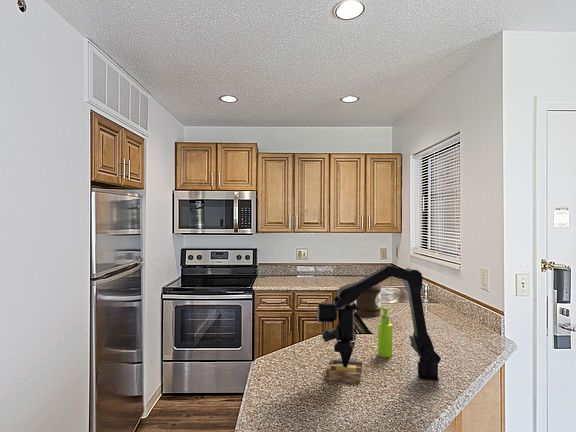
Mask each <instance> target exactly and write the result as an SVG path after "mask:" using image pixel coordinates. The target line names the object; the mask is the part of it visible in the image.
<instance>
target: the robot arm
mask: <svg viewBox="0 0 576 432" xmlns="http://www.w3.org/2000/svg"><path fill="white" fill-rule="evenodd" d="M393 277H394V278H397V279H400V280H402V283H403V285H404V288H405V290H406V291H407V296H408V303H409V307H410V312H411V313H410V314H411V318H412V319H411V321H412V326H413V334H412V335H409V339H410V347H411V348H412V349H413V350H414V352H415V353H416V354H417V356H418V357H419V361H417V375H418V376H419V379H421V380H430V381H431V380H432V381H440V380H439V364H440V362H441V358H442V357H441V356H439V354H438V353H436V351H435V348H434V345H433V342H432V339H431V337H430V334H429V332H428V331H427V325H426V318H425V312H424V306H423V301H422V299H423V298H422V290H423V289H422V288H423V274H422V273H421V271H420V270H417V269H415V268H411V267H406V268H401V267H397V266H394V265H391V264H385V265H383V267H381V268H379V269H377V270H375V271H374V272H373V273H371V274H368V275H367V276H365V277H363V278H362V279H360V280H358V281H356V282H352V283H349V284H345V285H343V286H341V287H340V288H338V289H337V292H336V296H335V297H334V298H333V299H332V301H331V302H330V303H327V302H325V303H324V302H318V303H317V305H318V306H317V311H316V316H317V317H316V318H317V323H335V321H336V320H337V325H336V327H332V328H329V329H326V330H324V331H322V333H321V335H322V339H323V340H324V343H328V342H330V341H333V340H335V341H336V342H335V344H334V346H333V347H334V349H333V350H334V351H333V352H335V353H340V356H341V357H340V358H342V362H343V366H344V367H347V365H348V362H349V360H350V359H351V357H352V355H353V352H354V348H355V344H356V342H355V341H357V334H356V332H355V329H354V328H355V320H354V318H355V317H354V316H355V312H354V311H356V310H359V308H358V307H357V306H356V303H355V301H356V299H358V298H359V297H360V295H361V294H362V293H363V292H365V291H366V290H368V289H370V288H372V287H373V286H375V285H377V284H379V285H380V283H382V282H384V281H385V280H386V281H387V280H388V279H389V278H393Z"/></svg>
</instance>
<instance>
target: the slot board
mask: <svg viewBox="0 0 576 432" xmlns="http://www.w3.org/2000/svg"><path fill="white" fill-rule="evenodd" d="M337 364H338V358H331V359H330V360H329V362H328V365H327V367H326V371H325V380H327V381H328V380H329V381H337V382H346V383H347V382H350V383H358V384H359V383H361V380H362V373H363V361H362V360H357V366H356V373H355V372H344V371H336V365H337Z"/></svg>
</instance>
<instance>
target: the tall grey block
mask: <svg viewBox="0 0 576 432" xmlns="http://www.w3.org/2000/svg"><path fill="white" fill-rule="evenodd" d="M337 359H338V364H343V362H342V358H341V357H338V358H337ZM357 361H358V360H357V359H355V358H350V360H349V362H348V365H356V366H357Z"/></svg>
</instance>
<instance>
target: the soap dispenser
mask: <svg viewBox="0 0 576 432" xmlns="http://www.w3.org/2000/svg"><path fill="white" fill-rule="evenodd" d="M376 309H381V310H382V311H383V313H382V315H380V320H381V321H380V322H378V323H377V325H378V326H377V328H378V329H377V334H378V335H377V345H378V346H377V355H378V356H379V357H382V358H392V357H393V324H392V323H391V322H390V315H388V311H390V308H388V307H383V306H381V307H378V308H376Z"/></svg>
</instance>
